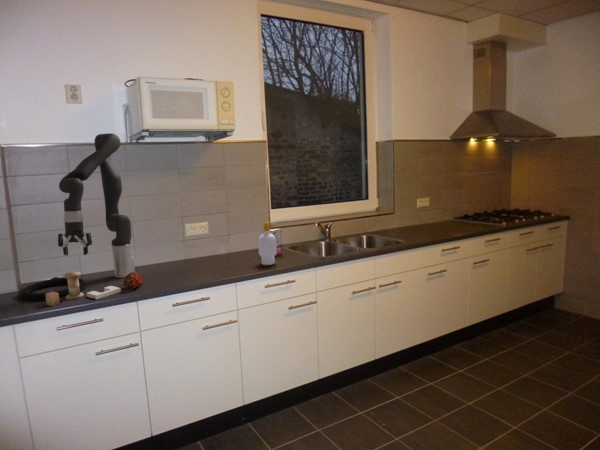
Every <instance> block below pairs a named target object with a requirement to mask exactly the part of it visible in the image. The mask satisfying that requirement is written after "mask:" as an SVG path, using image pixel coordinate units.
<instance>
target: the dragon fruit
mask: <svg viewBox="0 0 600 450" xmlns="http://www.w3.org/2000/svg"><path fill="white" fill-rule="evenodd" d="M143 280H144V279H143V276H142V275H141V274H140V273H138V272H136V271H135V272H132V273H129V274H128V275H127V276H125V277H123V284H122V285H123V286H124V287H127V288H128V289H132V290H135V289H136V288H141V287H142V282H143Z"/></svg>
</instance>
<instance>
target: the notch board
mask: <svg viewBox="0 0 600 450" xmlns="http://www.w3.org/2000/svg"><path fill="white" fill-rule="evenodd" d="M103 290H104V291H102V292H99V291H96V290H91V291H88V292H86V297H87V298H91V299H93V298H94V300H99V299H102V298H106V297H109V296H111V295H112V296H113V295H115V294H118V293H121V292H122V288H121V287H118V286H114V285H108V286H105V287H103Z"/></svg>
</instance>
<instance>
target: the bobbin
mask: <svg viewBox="0 0 600 450" xmlns="http://www.w3.org/2000/svg"><path fill="white" fill-rule="evenodd" d="M81 275H82V272H81V271H71V272H67V273H64V274H63V278H67V281H68V285H67V288H68V289H69V295H67V296H65V298H66V300H68V301H69V300H71V301H72V300H73V301H74V300H77V299H81V298H83V297H85V296H84V295H85V294H84V292H81V291H80V288H79V279H80V278H79V277H80V276H81ZM78 278H79V279H78Z"/></svg>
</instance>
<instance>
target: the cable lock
mask: <svg viewBox="0 0 600 450" xmlns="http://www.w3.org/2000/svg"><path fill="white" fill-rule="evenodd" d="M78 279H79V288H80V292H81V291H82V290H84V289H85V288H86V285H87V283H86V281H85V280H84V279H82V278H79V277H78ZM65 285H66V286H68V281H67V278H64V277H59V276H58V277H57V276H54V277H52V278H50V279H47V280H43V281H40V282H39V281H38V282H35V283H32V284H29V285H27V286H25V287H23V288H22V289H21V290H20V291H19V292H18V293H19V294H18V295H19V298H21V300H25V301H26V302H27V301H31V302H41V301H46V295H45V294H47V293H50V292H51V291H48V292H36V291H38V290H42V289H45V288H52V287H55V286H57V287H58V286H65ZM53 292H57V293H58V294H59V299H62V298H66V296H67V295H69V289H68V287H67V288H64V289H61V290H55V291H53Z"/></svg>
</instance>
